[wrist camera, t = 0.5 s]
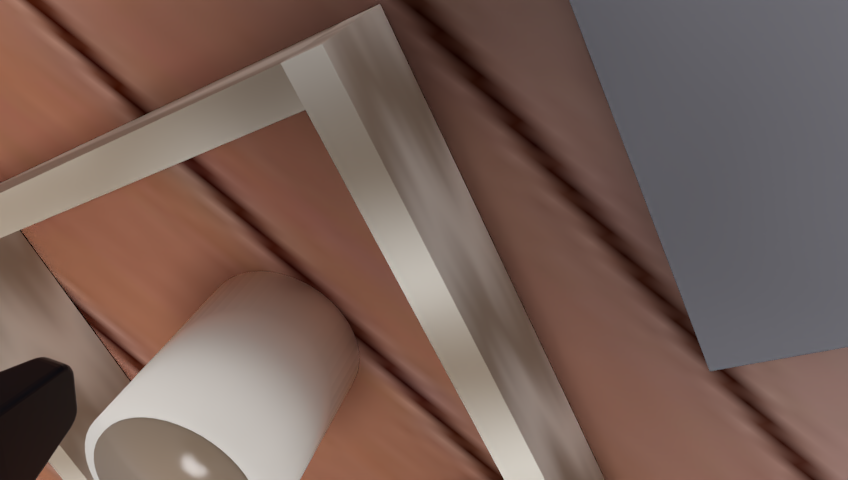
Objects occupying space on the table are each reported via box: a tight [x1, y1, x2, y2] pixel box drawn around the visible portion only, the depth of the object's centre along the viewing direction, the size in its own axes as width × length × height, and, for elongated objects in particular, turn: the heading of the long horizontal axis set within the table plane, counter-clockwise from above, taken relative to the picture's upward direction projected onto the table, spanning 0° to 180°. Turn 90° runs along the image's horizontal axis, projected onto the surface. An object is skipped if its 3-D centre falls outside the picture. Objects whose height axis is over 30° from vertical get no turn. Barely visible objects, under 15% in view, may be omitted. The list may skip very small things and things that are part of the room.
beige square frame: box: [0, 4, 605, 480], centre depth 26 cm, size 18×18×4 cm
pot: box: [85, 271, 359, 480], centre depth 24 cm, size 6×6×7 cm
